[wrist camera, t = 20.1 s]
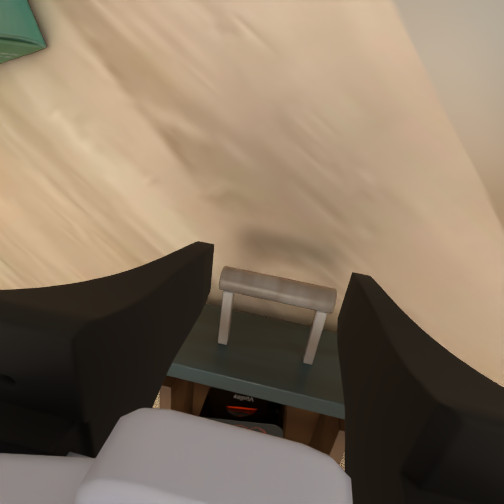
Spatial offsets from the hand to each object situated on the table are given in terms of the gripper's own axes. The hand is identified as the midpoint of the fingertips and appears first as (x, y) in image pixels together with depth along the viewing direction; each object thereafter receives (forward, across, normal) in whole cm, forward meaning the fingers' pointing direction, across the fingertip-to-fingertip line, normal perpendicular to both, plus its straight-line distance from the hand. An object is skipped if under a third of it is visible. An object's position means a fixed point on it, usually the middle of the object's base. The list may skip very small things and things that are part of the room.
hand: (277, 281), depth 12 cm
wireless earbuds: (+8, 0, +16) cm, 18 cm away
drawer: (+9, 0, +13) cm, 16 cm away
